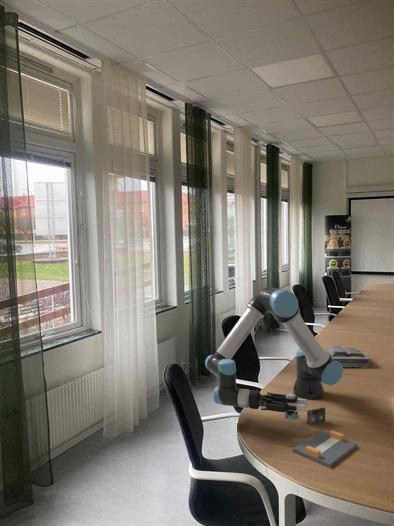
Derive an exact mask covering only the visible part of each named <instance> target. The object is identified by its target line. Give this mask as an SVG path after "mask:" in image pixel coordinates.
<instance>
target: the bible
mask: <svg viewBox="0 0 394 526" xmlns="http://www.w3.org/2000/svg"><path fill="white" fill-rule="evenodd" d="M326 350H327V351H328V352H329V353H330V355H331V356H332V358H333V359H334V360H335V361H338V362H339V363H340V364H341V365H342V367H344V368H345V367H351V368H352V367H354V368H357V367H370V361H371V360H370V359H371V358H370V357H369V356H367V355H366V354H365V353H364V352H363V351H362V350H360V349H357V348H356V347H348V346H345V347H342V346H341V345H340V346H339V345H330V346H329V347H328V348H327V349H326Z"/></svg>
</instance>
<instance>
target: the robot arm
mask: <svg viewBox="0 0 394 526" xmlns="http://www.w3.org/2000/svg"><path fill="white" fill-rule="evenodd" d="M268 313H270V314H271V315H272V317H273V318H274V319H275V320H276V322H277V323H278V324H282V325H283V327H284V328H285V329H286V331H287V332H288V333H289V335H290V337H291V338H292V339H293V341H294V342H295V344H296V345H297V347H298V348H299V349H297V350H296V354H295V356H296V379H295V381H294V384H293V387H292V388H293V389H292V391H293V392H292V393H294V394H295V395H296V396H297V397H298V399H297V402H296V404H294V403H289V404H287V402H286V401H285V398H284V396H285V395H286V394H282V393H273V392H267V394H261V391H259V390H255V389H251V390H250V389H247V388H239V387H237V368H236V361H235V360H234V359H232V358H233V356H234V355H235V354H236V353H237V351H238V350H239V348H240V347H241V345H242V344H243V342H244V341H245V340H246V339H247V337H248V336H249V334H250V333H251V331H253V329H254V327H255V326H256V325H257V324H258V322H259V320H260V319H262V318H263V319H264V317H265V316H266V315H267V314H268ZM204 365H205V368H206V369H207V370H208V371H209V372H210V373H211V374H213V375H214V376H215V377H216V378H218V386H215V388H214V390H213V400H214V401H213V402H214V403H215V404H216V405H217V404H218V405H220V406H221V405H222V406H230V407H237V408H242V409H251V410H259V408H260V410H261V411H269V412H270V411H271V412H277V413H283V414H285V412H286V413H288V410H290V411H296V412H298V413H299V412H300V413H306V408H308V400H316V399H322V398H323V397H324V396H325V389H324V387H323V384H325V385H328V386H333V385H334V386H335V385H337V384H338V383H339V382H340V380H341V379H342V377H343V372H344V368H343V367H342V365H341V364H340V363H339V362H338V361H335V360H334V359H333V358H332V356H331V355H330V353H329V352H328V351H327V349H323V347H322V346H321V345H320V343H319V342H318V340H317V339H316V338H315V336H314V335H313V333H312V331H311V330H310V328H309V327H308V325H307V323H305V321H304V319H303V318H302V316H301V315H300V307H299V300H298V298H297V296H296V295H295V294H294V292H292V291H290V290H287V289H284V288H277V287H273V286H268V287H267V286H266V287H263V288H261V289H260V290H258V291H257V293H255V294H254V296H253V297H252V298H251V299H250V300H249V302H248V303H247V305H246V309H245V311H244V312H243V314H242V316H241V317H240V318H239V320H237V322H236V323H235V325H234V326H233V328H232V329H231V330H230V332H229V333H228V334H227V336H226V337H225V339H224V340H223V341H222V343H221V344H220V345H219V347H218V348H217V350H216V351H215V352H214V354H210V355H208V356H207V357H206V359H205V361H204Z"/></svg>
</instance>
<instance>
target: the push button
mask: <svg viewBox="0 0 394 526" xmlns="http://www.w3.org/2000/svg"><path fill="white" fill-rule="evenodd" d="M284 395H285V396H284V398H285V401H286V402H287V404H289V403H294V404H296V402H297V399H299V397H298V396H296V395H295V394H294V393H293V392H289V393H288V392H287V393H286V394H284ZM298 413H299V412H298V411H290V410H288V413H286V412H285V413H284V417H285V419H288V420H290V421H291V420H293V421H297V420H301V419H302V415H299V414H298Z"/></svg>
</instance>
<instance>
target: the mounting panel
mask: <svg viewBox="0 0 394 526" xmlns="http://www.w3.org/2000/svg"><path fill="white" fill-rule="evenodd" d="M357 447H358V443H356V442H353V441H351V440H348V439H346V438H345V434H343V433H341V432H338V431H335V430H332V429H331V430H330V431H329V432H327V431H323V430H319V431H318V432H317V433H315V434H313V435H311V436H310V437H309V438H307V439H306V440H304V441H302V442H300V443H299V444H298V445H296V446H293V448H292V452H293V453H296V454H298V455H299V456H302V457H304V458H307V459H309V460H312V461H314V462H316V463H319V464H320V465H322V466H326V467H327V468H328V469H331V467H333V466H334V465H335V464H336V463H338V462H339V461H341V460H342V459H343V458H345V457H346V455H349V453H351V452H352V451H354V450H355V449H356V448H357Z"/></svg>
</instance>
